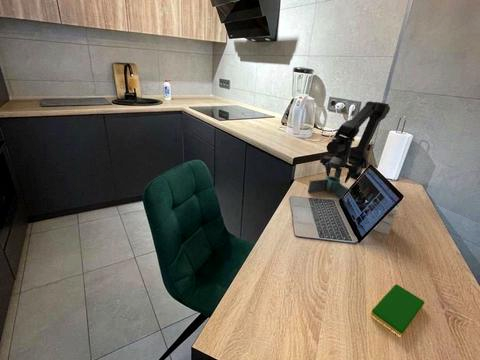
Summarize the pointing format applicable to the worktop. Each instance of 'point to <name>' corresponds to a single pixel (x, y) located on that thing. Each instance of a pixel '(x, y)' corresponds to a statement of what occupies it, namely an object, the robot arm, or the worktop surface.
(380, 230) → the light bulb box
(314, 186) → the hinge
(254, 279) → the worktop surface
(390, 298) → the dish sponge
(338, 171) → the hinge pin
